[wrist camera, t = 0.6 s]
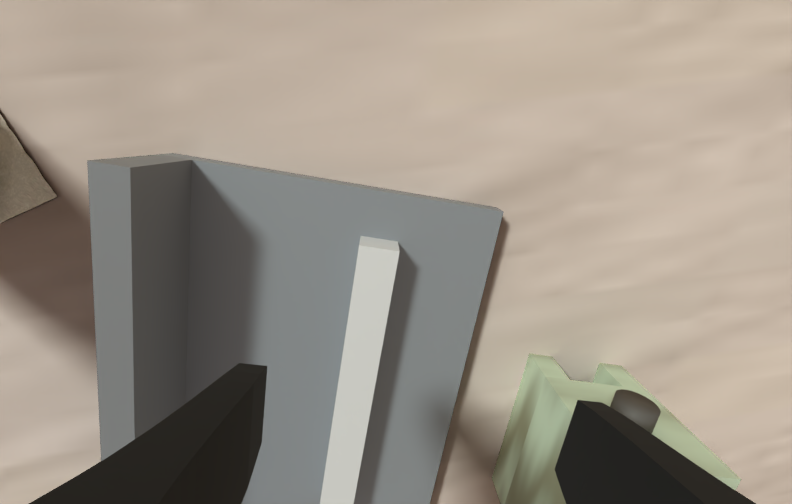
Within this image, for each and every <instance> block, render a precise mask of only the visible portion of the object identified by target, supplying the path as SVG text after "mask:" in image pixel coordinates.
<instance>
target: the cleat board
mask: <svg viewBox="0 0 792 504" xmlns="http://www.w3.org/2000/svg"><path fill="white" fill-rule="evenodd" d="M87 163H88V184H89V206H90V228H91V249H92V271H93V293H94V314H95V336H96V358H97V379H98V401H99V423H100V444H101V461H103V460H104V459H106V458H107V457H109V456H110V455H112V454H113V453H115V452H116V451H118V450H119V449H121V448H122V447H124V446H125V445H127V444H128V443H130V442H131V441H133V440H134V439H136V438H137V437H139V436H140V435H142V434H143V433H145V432H146V431H148V430H149V429H151V428H152V427H154V426H155V425H157V424H158V423H159V422H161V421H162V420H163V419H165V418H166V417H168V416H169V415H170V414H172V413H173V412H174V411H176V410H177V409H179V408H180V407H181V406H183V405H184V404H185V403H187V402H188V401H190V400H191V399H192V398H194V397H195V396H196V395H197V394H199V393H200V392H201V391H203V390H204V389H205V388H207V387H208V386H209V385H211V384H212V383H213V382H214V381H216V380H217V379H218V378H220V377H221V376H222V375H224V374H225V373H226V372H228V371H229V370H230V369H232V368H233V367H234V366H236V365H237V364H239V363H244V364H253V365H263V366H267V379H266V392H265V406H264V419H263V433H262V443H261V447H260V450H259V453H258V457H257V460H256V463H255V466H254V470H253V473H252V476H251V479H250V482H249V485H248V489H247V491H246V494H245V496H244V498H243V501H242V503H241V504H430V501H431V497H432V493H433V489H434V485H435V481H436V477H437V473H438V469H439V465H440V461H441V457H442V453H443V449H444V445H445V441H446V438H447V434H448V430H449V426H450V422H451V418H452V414H453V410H454V406H455V402H456V398H457V394H458V390H459V386H460V382H461V378H462V374H463V370H464V366H465V362H466V358H467V354H468V350H469V346H470V342H471V338H472V334H473V330H474V327H475V323H476V319H477V315H478V311H479V307H480V303H481V299H482V295H483V291H484V287H485V283H486V279H487V275H488V271H489V267H490V263H491V259H492V255H493V251H494V247H495V243H496V239H497V235H498V231H499V227H500V223H501V219H502V216H503V211H501V210H500V209H498V208H496V207H490V206H484V205H478V204H472V203H466V202H460V201H454V200H448V199H442V198H437V197H431V196H425V195H419V194H413V193H407V192H401V191H395V190H389V189H383V188H377V187H371V186H365V185H359V184H353V183H347V182H341V181H335V180H329V179H323V178H317V177H311V176H305V175H299V174H294V173H288V172H282V171H276V170H270V169H264V168H258V167H252V166H246V165H240V164H234V163H228V162H222V161H216V160H210V159H204V158H198V157H192V156H186V155H180V154H174V153H171V154H159V155H148V156H136V157H124V158H113V159H101V160H90V161H87Z"/></svg>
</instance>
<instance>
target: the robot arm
mask: <svg viewBox="0 0 792 504" xmlns="http://www.w3.org/2000/svg"><path fill="white" fill-rule="evenodd" d="M266 379H267V366H263V365H253V364H244V363H239V364H237V365H236V366H234V367H233V368H232V369H230V370H229V371H228V372H226V373H225V374H224V375H222V376H221V377H220V378H218V379H217V380H216V381H214V382H213V383H212V384H211V385H209V386H208V387H207V388H205V389H204V390H203V391H201V392H200V393H199V394H197V395H196V396H195V397H194V398H192V399H191V400H190V401H188V402H187V403H185V404H184V405H183V406H181V407H180V408H179V409H177V410H176V411H174V412H173V413H172V414H170V415H169V416H168V417H166V418H165V419H163V420H162V421H161V422H159V423H158V424H157V425H155V426H154V427H152V428H151V429H149V430H148V431H146V432H145V433H143V434H142V435H140V436H139V437H137V438H136V439H134V440H133V441H131V442H130V443H128V444H127V445H125V446H124V447H122V448H121V449H119V450H118V451H116V452H115V453H113V454H112V455H110V456H109V457H107V458H106V459H104V460H103V461H101V462H99V463H98V464H96V465H95V466H93V467H91V468H90V469H88V470H86V471H85V472H83V473H81V474H80V475H78V476H76V477H75V478H73V479H71V480H69V481H68V482H66V483H64V484H63V485H61V486H59V487H57V488H56V489H54V490H52V491H50V492H49V493H47V494H45V495H43V496H42V497H40V498H38V499H36V500H35V501H33V502H31V503H29V504H241V503H242V501H243V498H244V496H245V494H246V491H247V489H248V485H249V482H250V479H251V476H252V473H253V470H254V466H255V463H256V460H257V457H258V453H259V450H260V447H261V443H262V433H263V419H264V406H265V392H266ZM555 473H556V476H557V479H558V482H559V485H560V488H561V491H562V494H563V496H564V499H565V502H566V504H756V503H754V502H752V501H751V500H749V499H748V498H746V497H745V496H743V495H741V494H740V493H738V492H737V491H735V490H734V489H732V488H731V487H729V486H728V485H726V484H725V483H723V482H722V481H720V480H719V479H717V478H716V477H714V476H713V475H711V474H710V473H708V472H707V471H705V470H704V469H702V468H701V467H699V466H698V465H696V464H695V463H693V462H692V461H691V460H689V459H688V458H686V457H685V456H683V455H682V454H680V453H679V452H677V451H676V450H674V449H673V448H672V447H670V446H669V445H667V444H666V443H664V442H663V441H661V440H660V439H658V438H657V437H655V436H654V435H653V434H651V433H650V432H648V431H647V430H645V429H644V428H642V427H641V426H639V425H638V424H636V423H635V422H633V421H632V420H630V419H629V418H627V417H626V416H624V415H622V414H621V413H619V412H618V411H616V410H614V409H613V408H611V407H609V406H608V405H606V404H604V403H602V402H593V401H584V400H577V403H576V406H575V409H574V412H573V415H572V418H571V421H570V424H569V427H568V430H567V433H566V436H565V439H564V442H563V445H562V448H561V451H560V454H559V457H558V460H557V463H556V466H555Z"/></svg>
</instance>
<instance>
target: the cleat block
mask: <svg viewBox="0 0 792 504" xmlns="http://www.w3.org/2000/svg"><path fill="white" fill-rule="evenodd" d="M577 400H584V401H593V402H602V403H604V404H606V405H608V406H609V407H611V408H613V409H614V410H616V411H618V412H619V413H621V414H622V415H624V416H626V417H627V418H629V419H630V420H632V421H633V422H635V423H636V424H638V425H639V426H641V427H642V428H644V429H645V430H647V431H648V432H650V433H651V434H653V435H654V436H655V437H657V438H658V439H660V440H661V441H663V442H664V443H666V444H667V445H669V446H670V447H672V448H673V449H674V450H676V451H677V452H679V453H680V454H682V455H683V456H685V457H686V458H688V459H689V460H691V461H692V462H693V463H695V464H696V465H698V466H699V467H701V468H702V469H704V470H705V471H707V472H708V473H710V474H711V475H713V476H714V477H716V478H717V479H719V480H720V481H722V482H723V483H725V484H726V485H728V486H729V487H731V488H732V489H734V490H736V489H737V487H738V485H739V483H740V481H741V479H740V478H739V477H738V476H737V475H736V474H735V473H734V472H733V471H732V470H731V469H730V468H729V467H728V466H727V465H726V464H724V463H723V462H722V461H721V460H720V459H719V458H718V457H717V456H716V455H715V454H714V453H713V452H712V451H711V450H710V449H709V448H708V447H707V446H705V445H704V444H703V443H702V442H701V441H700V440H699V439H698V438H697V437H696V436H695V435H694V434H693V433H692V432H691V431H690V430H689V429H688V428H686V427H685V426H684V425H683V424H682V423H681V422H680V421H679V420H678V419H677V418H676V417H675V416H674V415H673V414H672V413H671V412H670V411H669V410H667V409H666V408H665V407H664V406H663V405H662V404H661V403H660V402H659V401H658V400H657V399H656V398H655V397H654V396H653V395H652V394H651V393H650V392H648V391H647V390H646V389H645V388H644V387H643V386H642V385H641V384H640V383H639V382H638V381H637V380H636V379H635V378H634V377H633V376H632V375H630V374H629V373H628V372H627V371H626V370H625V369H624V368H623V367H622V366H618V365H611V364H604V363H600V364H599V366H598V369H597V372H596V375H595V377H594V380H593V383H591V382H583V381H575V380H570V379H569V378H568V376H567V375H566V374H565V373H564V371H563V370H562V369H561V368H560V366H559V365H558V364H557V362H556V361H555V360H554V359H553V357H551V356H544V355H536V354H529V357H528V360H527V363H526V367H525V370H524V373H523V376H522V380H521V383H520V386H519V390H518V393H517V396H516V400H515V403H514V406H513V410H512V413H511V416H510V420H509V423H508V426H507V429H506V433H505V436H504V439H503V443H502V446H501V449H500V453H499V456H498V459H497V463H496V466H495V469H494V473H493V476H492V480H493V483H494V486H495V489H496V492H497V495H498V498H499V501H500V504H566V502H565V499H564V496H563V494H562V491H561V488H560V485H559V482H558V479H557V476H556V473H555V466H556V463H557V460H558V457H559V454H560V451H561V448H562V445H563V442H564V439H565V436H566V433H567V430H568V427H569V424H570V421H571V418H572V415H573V412H574V409H575V406H576V403H577Z"/></svg>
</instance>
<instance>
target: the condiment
mask: <svg viewBox="0 0 792 504" xmlns="http://www.w3.org/2000/svg"><path fill="white" fill-rule="evenodd" d="M55 197H57V196H56V194H55V193H54V192H53V190H52V188H51V187H50V186H49V184H48V183H47V182H46V181H45V180H44V178H43V177H42V175H41V173H40V172H39V170H38V168H37V166H36V165H35V164H34V162H33V161H32V159H31V158H29V156H28V155H27V154H26V153H25V151H24V149H23V147H22V146H21V144H20V143H19V141H18V140H17V138H16V136H15V135H14V133H13V132H12V131H11V130H10V129H9V127H8V126H7V125H6V122H5V120H4V119H3V117H2V116H1V114H0V223H2V222H4V221H6V220H8V219H10V218H11V217H14V216H16V215H18V214H21V213H23V212H25V211H28V210H30V209H32V208H34V207H36V206H38V205H40V204H42V203H44V202H47V201H49V200H51V199H53V198H55Z"/></svg>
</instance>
